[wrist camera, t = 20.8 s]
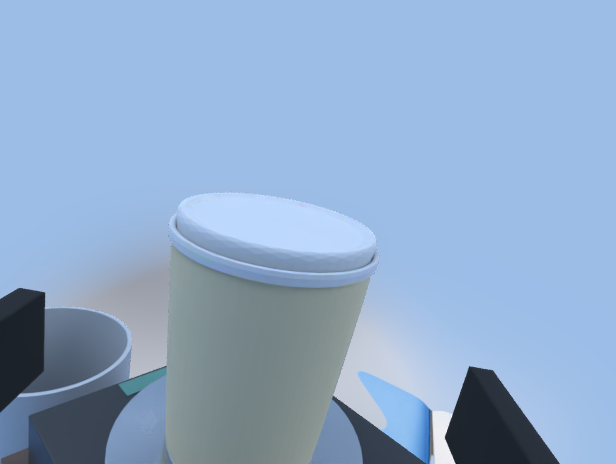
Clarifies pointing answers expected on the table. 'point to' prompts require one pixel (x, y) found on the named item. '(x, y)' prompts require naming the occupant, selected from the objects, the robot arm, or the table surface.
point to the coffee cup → (258, 325)
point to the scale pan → (152, 440)
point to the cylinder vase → (69, 367)
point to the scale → (111, 401)
